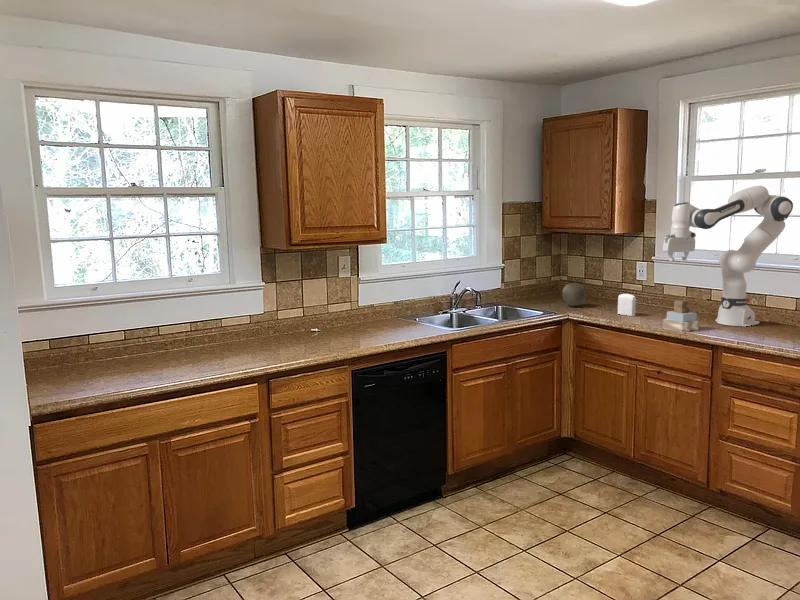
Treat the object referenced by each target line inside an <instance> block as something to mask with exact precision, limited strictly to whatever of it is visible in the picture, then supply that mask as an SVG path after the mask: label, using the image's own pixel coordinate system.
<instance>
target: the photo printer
mask: <svg viewBox="0 0 800 600" xmlns="http://www.w3.org/2000/svg"><path fill="white" fill-rule="evenodd" d="M636 306H637V299H636V296H635V295H633V294H630V293H622V294H619V295H618V298H617V315H618V314H620V315H619V316H626V315H627V317H635V316H636Z"/></svg>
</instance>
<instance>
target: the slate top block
mask: <svg viewBox="0 0 800 600" xmlns="http://www.w3.org/2000/svg"><path fill="white" fill-rule="evenodd" d="M697 316H698V314H697V312H693V311H689V313H677V312H674V310H668V311H666V319H668V320H673V321H678V322H690V321H697Z"/></svg>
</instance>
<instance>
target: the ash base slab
mask: <svg viewBox="0 0 800 600" xmlns="http://www.w3.org/2000/svg"><path fill="white" fill-rule="evenodd" d="M662 321H663V322H662V328H663V327H665V328H664V329H666V328H669V329H668V330H670V329H674V330H673V331H675V330H677V331H676V332H680V331H681V332H680V333H684V332H683V331H686V332H691V331H690V330H694V331H699V330H698V329H700V327H699V326H700V320H696V321H690V322H678V321H673V320H668V319H667V318H663V319H662Z"/></svg>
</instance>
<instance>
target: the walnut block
mask: <svg viewBox="0 0 800 600" xmlns="http://www.w3.org/2000/svg"><path fill="white" fill-rule="evenodd" d="M673 311H674V312H677V313H689V312H690V300H685V299H675V300H674V304H673Z"/></svg>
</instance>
